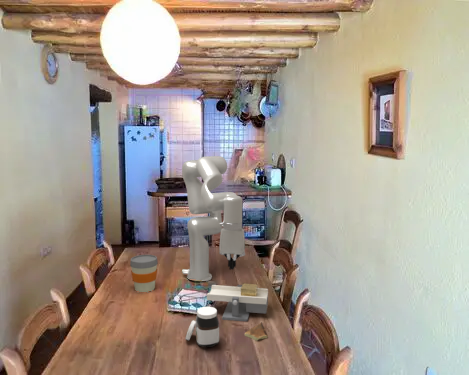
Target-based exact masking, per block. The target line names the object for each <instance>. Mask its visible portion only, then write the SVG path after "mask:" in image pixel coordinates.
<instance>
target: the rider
mask: <svg viewBox="0 0 469 375" xmlns="http://www.w3.org/2000/svg"><path fill="white" fill-rule="evenodd" d="M241 285H242V287H241V296H253V297H256V296H257V288H258V284H256V283H245V282H244V283H242V284H241Z"/></svg>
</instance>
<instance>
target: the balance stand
mask: <svg viewBox="0 0 469 375" xmlns="http://www.w3.org/2000/svg"><path fill="white" fill-rule="evenodd" d="M242 285H243V284H237V286H236V287H242ZM250 314H251V312H246V303H239V297H233V298H232V302H227V305H226V307H225V310H224V313H223V314H222V316H221V320H223V321H224V320H225V321H237V322H238V321H239V322H248V321H249V316H250Z"/></svg>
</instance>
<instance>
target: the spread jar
mask: <svg viewBox="0 0 469 375" xmlns="http://www.w3.org/2000/svg"><path fill="white" fill-rule="evenodd" d="M217 315H218V310H217V308H215V307H213V306H203V307H199V308H198V309H197V312H196V317H195V320H191V322H190V325H189V327H188V329H187V333H186V335H185V340H187V341H190V339H191V337H192V335H193V333H194V331H195V339H196V344H197V345H198V346H200V347H202V348H212V347H214V346H216V345H218V344H219V342H220V322H219V318H218V316H217Z"/></svg>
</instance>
